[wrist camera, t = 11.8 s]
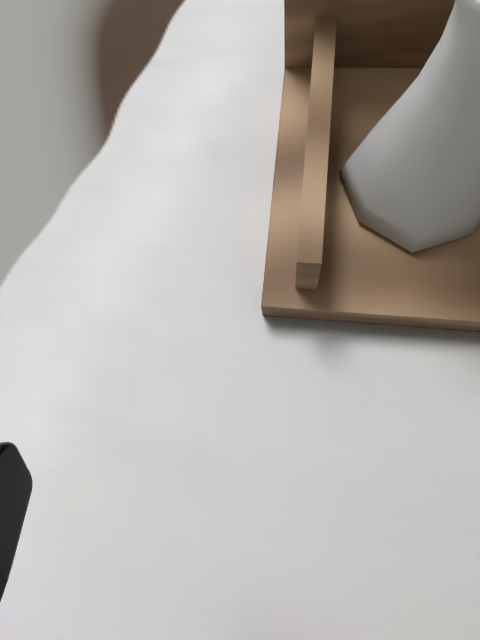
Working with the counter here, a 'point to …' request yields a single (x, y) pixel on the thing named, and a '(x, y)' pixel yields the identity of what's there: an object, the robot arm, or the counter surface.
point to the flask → (426, 148)
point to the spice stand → (329, 157)
